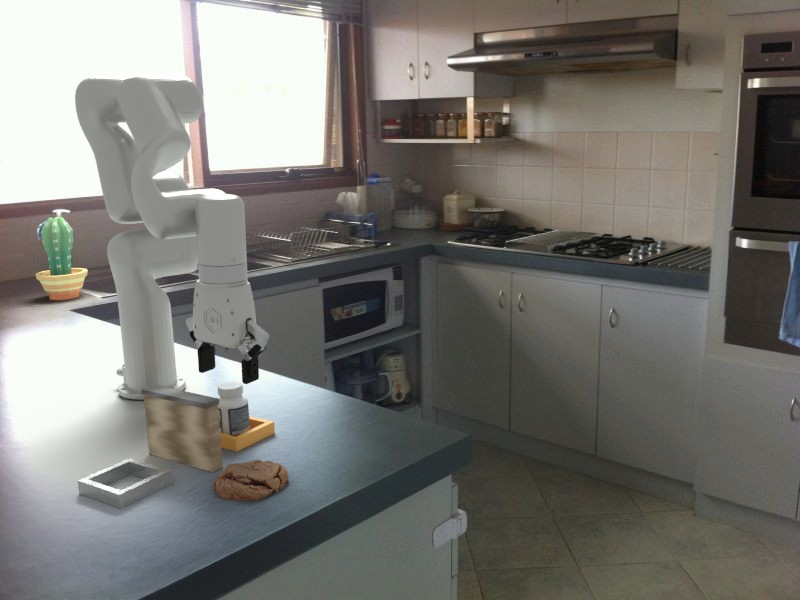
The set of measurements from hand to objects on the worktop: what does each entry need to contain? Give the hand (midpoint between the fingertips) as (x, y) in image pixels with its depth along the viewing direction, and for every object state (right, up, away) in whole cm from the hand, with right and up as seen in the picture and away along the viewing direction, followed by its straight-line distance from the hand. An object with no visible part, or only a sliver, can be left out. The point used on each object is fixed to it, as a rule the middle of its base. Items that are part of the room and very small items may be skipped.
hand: (228, 375), depth 130 cm
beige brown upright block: (-5, -12, -8) cm, 15 cm away
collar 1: (-11, -14, -17) cm, 25 cm away
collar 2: (+1, -10, +1) cm, 10 cm away
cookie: (+7, -14, -17) cm, 23 cm away
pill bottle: (+1, -10, +2) cm, 11 cm away
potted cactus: (-77, +13, +120) cm, 144 cm away
